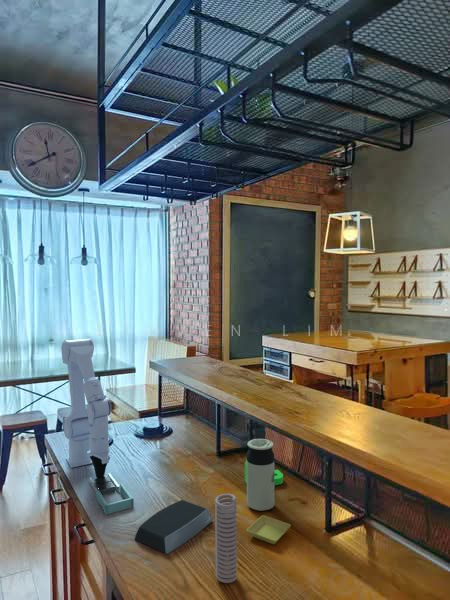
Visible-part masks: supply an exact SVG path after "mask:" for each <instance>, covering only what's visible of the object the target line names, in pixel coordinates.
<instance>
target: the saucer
mask: <svg viewBox="0 0 450 600" xmlns="http://www.w3.org/2000/svg"><path fill="white" fill-rule="evenodd" d="M291 526H292V524H291V523H288V522H286V521H285V522H284V521H282V520H279V519H276V518H273V517H270V516H267V515H265V514H264V515H261V516H259V518H257V519H256V520H255V521H254V522H253V523H252V524H251V525H250V526H249V527H247V528H246V532H247V533H248V534H249V535H250V536H251V537H253V538H255V539H257V540H261V541H263V542H266V543H268V544H271V545H275V544H276V543H277V542H279V540H281V538H282V537H283V536H284V535H285V534H286V532H287V531H288V530H289V529H290V528H291Z"/></svg>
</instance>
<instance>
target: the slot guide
mask: <svg viewBox="0 0 450 600" xmlns="http://www.w3.org/2000/svg"><path fill="white" fill-rule="evenodd" d="M107 476H108V478H109V479H110V480H111V482H112V483H113V485H114V486H115V491H116V492H118V493H119V492H120V484H118V482H117V480H115V478H114V477H113V475H112V474H111V473H110V472H109V473H107ZM88 479H89V480H88V481H89V484H90V485H91V487H92V488H93V490H95V491H94V492H95V493H96V490H99V489H98V487H97V486H96V484H95V480H94V479H93V478H92V477H88ZM99 491H100V490H99Z"/></svg>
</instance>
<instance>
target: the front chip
mask: <svg viewBox="0 0 450 600" xmlns="http://www.w3.org/2000/svg"><path fill="white" fill-rule="evenodd" d="M98 487H99V490H100V493H101V494H102V496H104V495H108V494H112V493H115V492H116V489H115V486H114V485H113V483H112V482H107V483H103V484H99V485H98Z"/></svg>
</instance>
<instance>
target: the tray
mask: <svg viewBox="0 0 450 600" xmlns="http://www.w3.org/2000/svg"><path fill="white" fill-rule="evenodd" d="M119 486H120V491H119V492H120V494H121V495H122V497H123V498H124V499H122V500H117V501H114V502H109V503H107V501H106V499H105V498H104V495H102V494H101V492H100V491H99V490H96V492H95V498H97V499H96V500H97V502H98V504H99V506H100V505H101V506H100V507H101V509H102V511H103V510H104V511H103V512H104V514H105V515H109V514H113V513H115V512H121V511H123V510H127V509H128V510H129V509H131V508H133V507H134V506H135V505H134V504H135V503H134V497H133V495H132V494H131V493H130V492H129V491H128V489H127V488H126V487H125V485H124V484H123V483H120V484H119Z"/></svg>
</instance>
